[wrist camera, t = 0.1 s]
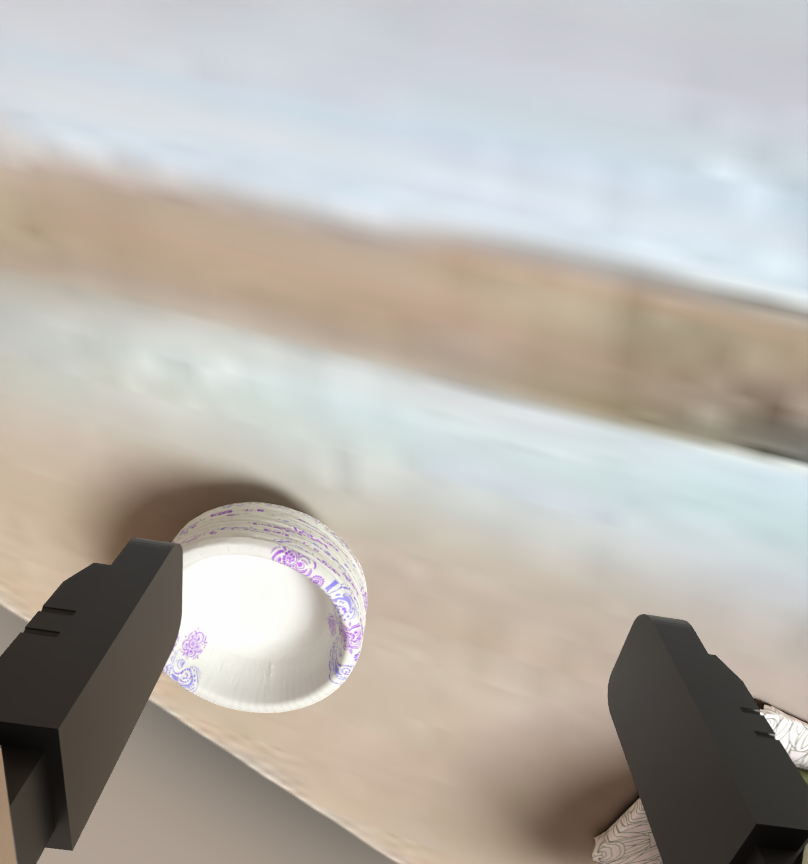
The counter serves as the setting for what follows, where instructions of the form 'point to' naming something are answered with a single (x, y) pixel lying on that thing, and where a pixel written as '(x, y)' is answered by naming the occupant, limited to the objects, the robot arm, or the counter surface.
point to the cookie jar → (631, 834)
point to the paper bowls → (266, 609)
